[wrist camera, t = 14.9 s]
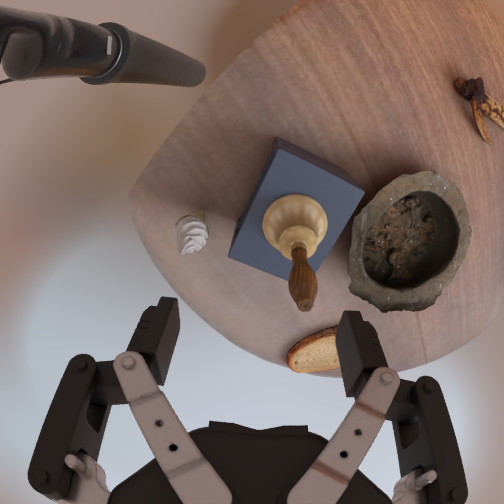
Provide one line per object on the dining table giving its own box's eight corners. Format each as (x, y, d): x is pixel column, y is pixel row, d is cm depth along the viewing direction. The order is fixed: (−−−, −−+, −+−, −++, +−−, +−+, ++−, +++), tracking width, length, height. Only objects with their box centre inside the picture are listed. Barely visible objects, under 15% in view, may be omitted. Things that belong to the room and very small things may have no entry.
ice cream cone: (218, 224, 50) (199, 274, 37) (188, 223, 50) (162, 271, 37) (217, 196, 47) (197, 238, 34) (187, 195, 48) (157, 236, 35)
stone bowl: (331, 291, 55) (339, 321, 47) (340, 158, 45) (354, 167, 36) (440, 287, 53) (459, 312, 45) (462, 169, 43) (490, 181, 34)
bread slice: (280, 363, 67) (280, 375, 63) (314, 310, 58) (316, 323, 55) (344, 376, 69) (346, 387, 65) (383, 329, 60) (388, 340, 57)
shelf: (235, 223, 50) (227, 257, 40) (276, 136, 42) (279, 148, 33) (299, 250, 52) (305, 288, 42) (345, 170, 44) (365, 192, 34)
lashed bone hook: (442, 111, 37) (503, 157, 39) (455, 114, 33) (517, 164, 35) (456, 67, 33) (517, 118, 34) (471, 67, 29) (531, 123, 30)
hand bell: (271, 258, 40) (270, 348, 26) (254, 202, 36) (244, 275, 22) (331, 245, 38) (360, 331, 25) (321, 187, 35) (354, 252, 21)
